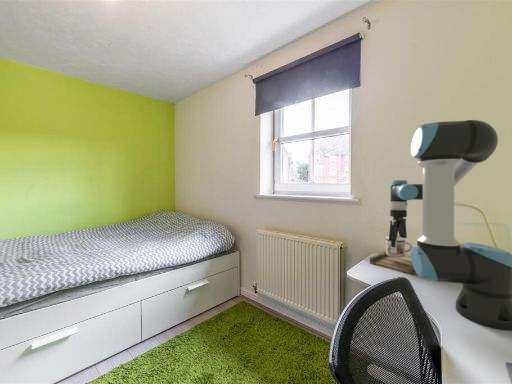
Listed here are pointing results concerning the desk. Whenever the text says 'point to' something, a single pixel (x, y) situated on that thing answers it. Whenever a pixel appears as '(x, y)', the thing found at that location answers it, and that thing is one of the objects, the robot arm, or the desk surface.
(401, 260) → the rail board
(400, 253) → the teacup with lid
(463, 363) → the desk surface
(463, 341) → the desk surface
